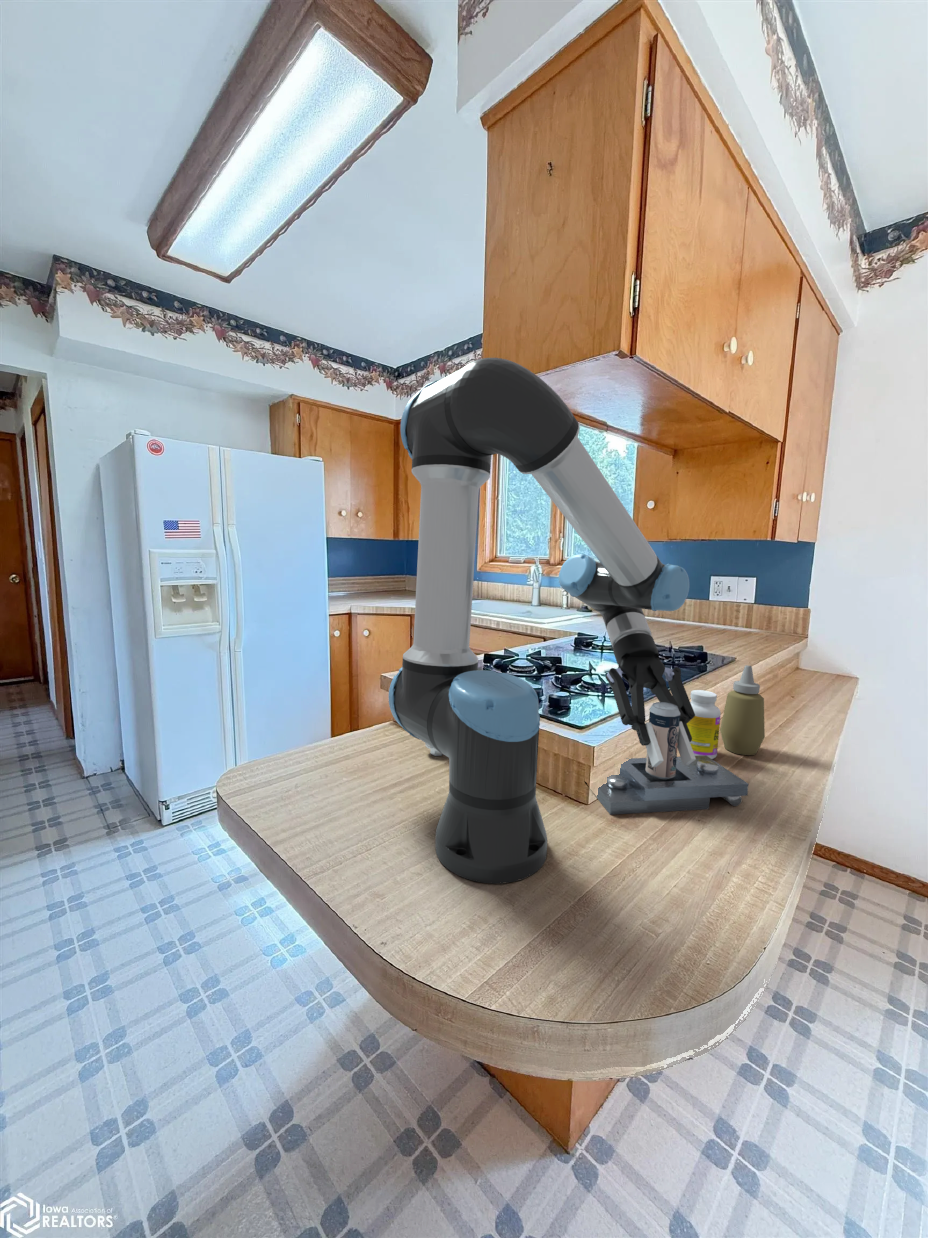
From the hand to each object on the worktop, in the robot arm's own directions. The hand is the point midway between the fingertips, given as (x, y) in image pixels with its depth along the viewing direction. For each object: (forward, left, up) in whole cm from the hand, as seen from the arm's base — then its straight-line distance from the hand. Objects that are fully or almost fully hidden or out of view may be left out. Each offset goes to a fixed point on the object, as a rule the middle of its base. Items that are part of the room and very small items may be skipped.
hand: (673, 762), depth 77 cm
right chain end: (+3, +4, -7) cm, 9 cm away
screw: (-36, +24, -7) cm, 44 cm away
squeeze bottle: (+27, +20, -7) cm, 34 cm away
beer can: (0, +4, -4) cm, 5 cm away
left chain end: (-3, +4, -7) cm, 9 cm away
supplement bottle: (+17, +19, -7) cm, 26 cm away
